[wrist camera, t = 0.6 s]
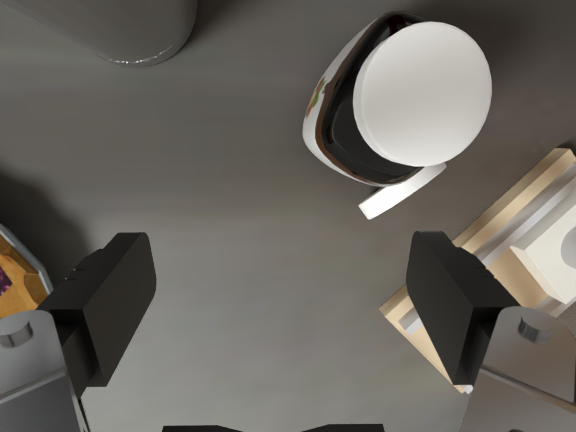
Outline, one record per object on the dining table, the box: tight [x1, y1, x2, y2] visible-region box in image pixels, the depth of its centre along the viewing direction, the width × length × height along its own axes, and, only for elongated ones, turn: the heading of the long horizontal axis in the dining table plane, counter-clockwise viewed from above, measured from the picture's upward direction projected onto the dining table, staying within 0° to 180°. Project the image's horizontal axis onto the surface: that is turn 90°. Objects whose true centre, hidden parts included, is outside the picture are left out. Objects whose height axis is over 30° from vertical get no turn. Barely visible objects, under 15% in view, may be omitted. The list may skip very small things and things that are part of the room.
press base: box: [379, 148, 576, 394], centre depth 33 cm, size 21×12×3 cm, turn 133°
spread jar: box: [303, 11, 492, 219], centre depth 24 cm, size 12×11×12 cm
